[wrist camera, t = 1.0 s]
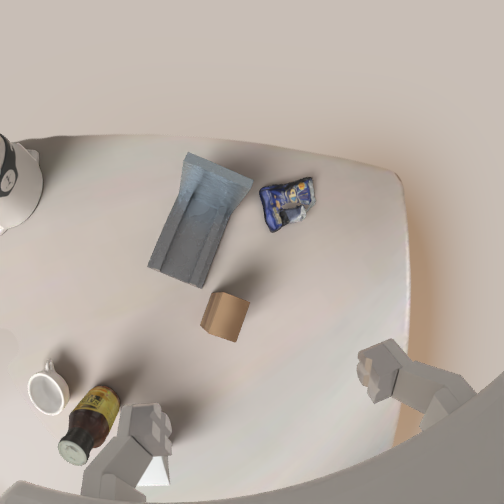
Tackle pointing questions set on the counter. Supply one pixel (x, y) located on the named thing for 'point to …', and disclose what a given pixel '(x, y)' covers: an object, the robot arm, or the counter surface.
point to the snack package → (283, 194)
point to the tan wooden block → (224, 315)
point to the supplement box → (156, 473)
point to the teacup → (48, 390)
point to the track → (198, 219)
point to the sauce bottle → (89, 424)
